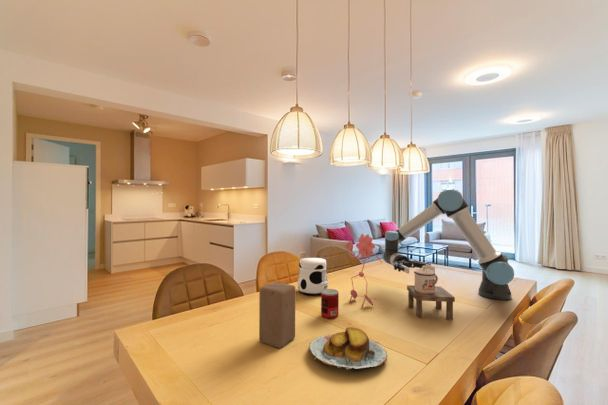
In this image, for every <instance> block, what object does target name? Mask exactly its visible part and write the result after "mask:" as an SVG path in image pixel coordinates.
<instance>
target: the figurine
mask: <svg viewBox="0 0 608 405" xmlns="http://www.w3.org/2000/svg"><path fill="white" fill-rule="evenodd" d="M355 247H356V249H358V254H357V255H356V256H355V255H351V250H353V248H354V244H353V242H351V241H348V242H346V248H347V250H348V251H349V254H348V255H349V258H356V259H357V260H359V261H361V262H362V264H363V265H362V269H361V271H359V272H358V274H356V275H355V276H352V277H350V279H351V285H352V290H350V298H349V300H348V302H349V303H350V302H351V300H352V299H354V300H356V299H357V297H359V295H358V294H359V293H358V292H357V290H355V288H354V283H353V278H355V277H361V278H364V280H365V282H366V283H368V281H367V279H366V276H365V273H364V272H363V271H364V267H365V264H366V260H367V259H370V258H371V255H374V257H375V258H377V260H379V261H380V263H383V261H382V260H381V259H380V258H379V257H378V256H377V254H375V252H374V250H373V249H375V248H376V245H375V243H373V238H372V237H370V234H366V235H364V234H363V233H361V234H360V237H359V238H358V242H357V243H356V244H355ZM360 257H361V258H360ZM363 258H364V259H363ZM365 287H366V290H365V294H363V296H361V295H360V297H362V298H363V302H362V304H361V308H363V307H364V304H365V301H367V302H368V303H369V304H370V305H371V306H372V307H374V303H373V301H377V299H376V298H371V297H369V296H368V285H366V286H365ZM371 299H372V300H373V301H372V300H371Z"/></svg>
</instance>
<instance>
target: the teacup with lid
mask: <svg viewBox="0 0 608 405" xmlns="http://www.w3.org/2000/svg"><path fill="white" fill-rule="evenodd" d="M413 273H414V286H415V291H417V292H420V293H424V294H432V293H434V292H435V286H436V284H437V283H438V280H439V278H438V275H437V274H436V271H435V272H434V271H432V270H430V269H428V268H427V266H422V268H417V269H415V270H414V272H413Z"/></svg>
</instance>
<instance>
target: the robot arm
mask: <svg viewBox="0 0 608 405" xmlns="http://www.w3.org/2000/svg"><path fill="white" fill-rule="evenodd" d="M431 203H432V204H431V205H429V206H428V207H427V208H426V209H424V210H423V211H421V212H420V213H418V214H417V215H415V216H414V217H413V218H411V219H410V220H409V221H407V222H406V223H404V224H403V225H402V226H401V227H398V229H396V230H386V231H385V233H384V234H385V235H384V239H385V240H384V251H383V253H382V255H381V257H382V259H383V261H384V262H385V263H387V264H388V265H391V266H393V270H395V271H397V272H403V273H406V274H407V275H408V274H410V269H415V268H417V269H420V268H422V266H427V268H428V269H430V270H432V271H434V272H435V273H436V266H433V265H432V264H431V263H429V262H424V261H418V260H417V259H415V260H410V259H409V258H408V256H406V255H403V254H400V253H399V244H401V243H402V242H403V241H405V240H406V239H408V238H409V237H410V236H412V235H413V234H415V233H417V232H418V231H419V230H421V229H422V228H424V227H425V226H426V225H428V224H429V223H431V222H432V221H434V220H435V219H437V218H438V217H440V216H441V215H444V216H445V215H446V217H447V218H448V219H452V220H453V222H454V224H455V225H456V226H457V227H458V230H459V231H460V232H461V234H462V235H463V237H464V238H465V240H466V242H467V243H468V244H469V245H470V247H471V248H472V250H473V251H474V253H475V255H476V256H477V258H478V262H477V264H479V267H480V268H481V271H482V272H481V273H482V274H481V277H482V278H481V282H480V285H479V287H478V290H477V291H478V295H480V296H482V297H485V298H487V299H492V300H496V301H497V300H498V301H509V300H512V292H511V290H510V287H509V283H511V282H512V281H513V279H514V277H515V271H514V268H513V266H512V265H510V263H509V262H508V261H509V258H508V255H507V254H503V253H502V252H500V251H497V250H496V249H495V248H494V246H493V245H492V243H491V242H490V240H489V239H488V238H487V236H486V234H485V233H484V231H483V230H482V228H480V225H479V224H478V223H477V222H476V220H475V219H474V218H473V215H472V214H471V213H470V212H469V209H470V208H469V204H468V203H467V202H466V200H465V198H464V196H463V194H462V193H461V192H460V191H459V190H457V189H455V188H445V189H444V190H442V191H440V192H439V194H438V197H437V198H436V199H435V200H434V201H432V202H431Z"/></svg>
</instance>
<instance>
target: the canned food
mask: <svg viewBox="0 0 608 405" xmlns="http://www.w3.org/2000/svg"><path fill="white" fill-rule="evenodd" d="M320 295H321V296H320V298H321V300H320V301H321V302H320V311H321V312H320V314H321V317H322V318H323V319H327V320H332V319H333V320H334V319H336V318H338V317H339V306H340V305H339V300H340V298H339V296H340V294H339V291H338V290H337V289H335V288H327V289H324V290H322V291H321V294H320Z"/></svg>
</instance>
